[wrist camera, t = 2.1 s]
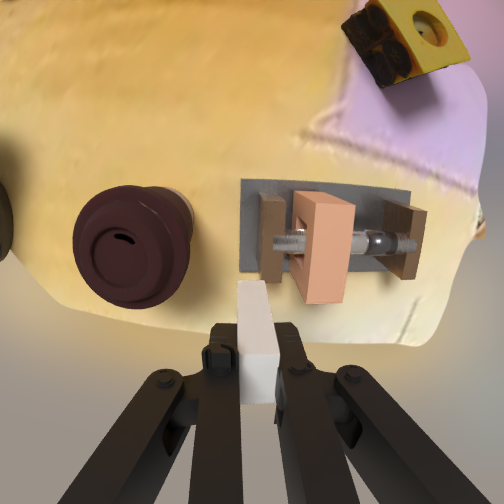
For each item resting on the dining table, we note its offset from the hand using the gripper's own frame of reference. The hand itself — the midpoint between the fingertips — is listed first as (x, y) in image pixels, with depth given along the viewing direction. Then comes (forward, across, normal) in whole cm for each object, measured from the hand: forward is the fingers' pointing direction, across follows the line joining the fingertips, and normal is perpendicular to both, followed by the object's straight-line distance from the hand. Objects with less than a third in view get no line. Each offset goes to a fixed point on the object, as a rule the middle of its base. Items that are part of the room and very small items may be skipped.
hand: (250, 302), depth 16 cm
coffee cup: (+19, -10, +1) cm, 21 cm away
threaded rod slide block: (+19, +10, 0) cm, 21 cm away
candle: (+19, +18, +25) cm, 37 cm away
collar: (+17, +7, 0) cm, 18 cm away
